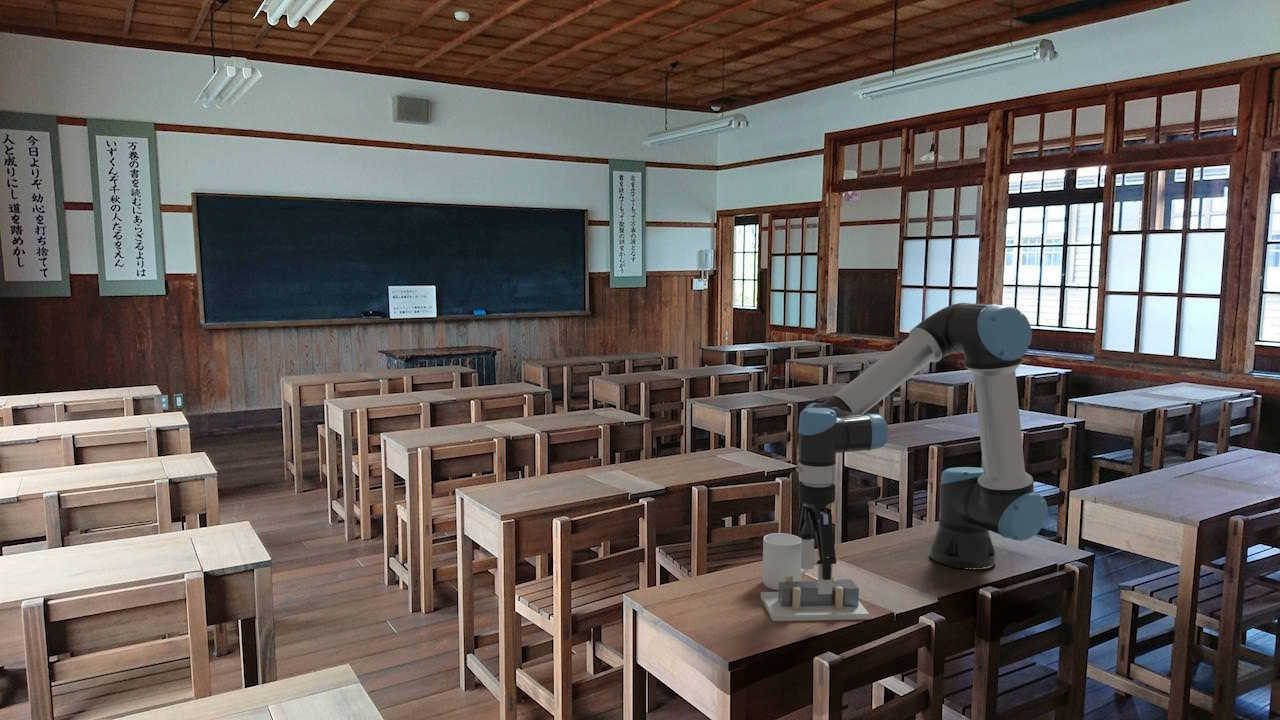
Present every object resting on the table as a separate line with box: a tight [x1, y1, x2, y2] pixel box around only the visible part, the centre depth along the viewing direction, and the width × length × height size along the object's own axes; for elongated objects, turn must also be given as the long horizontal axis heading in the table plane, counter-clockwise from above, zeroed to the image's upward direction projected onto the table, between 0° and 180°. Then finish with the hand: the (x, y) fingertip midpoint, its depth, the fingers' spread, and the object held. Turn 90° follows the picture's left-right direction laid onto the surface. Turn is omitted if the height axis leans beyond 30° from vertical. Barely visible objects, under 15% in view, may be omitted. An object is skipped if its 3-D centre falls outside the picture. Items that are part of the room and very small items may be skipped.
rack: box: [760, 574, 870, 622], centre depth 169 cm, size 20×12×6 cm, turn 93°
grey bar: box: [777, 578, 860, 607], centre depth 169 cm, size 16×5×4 cm, turn 93°
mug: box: [762, 532, 809, 591], centre depth 182 cm, size 9×12×11 cm
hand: (815, 580), depth 169 cm, fingers open, 13 cm apart
